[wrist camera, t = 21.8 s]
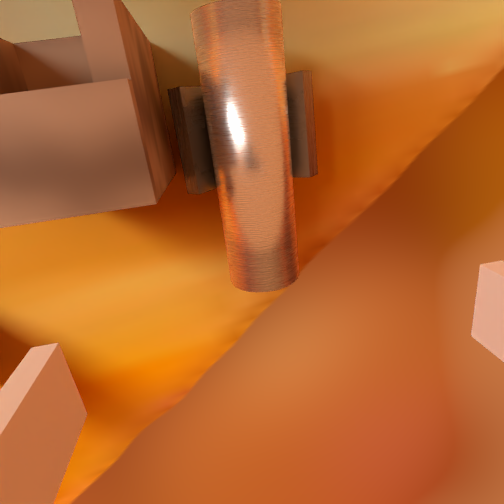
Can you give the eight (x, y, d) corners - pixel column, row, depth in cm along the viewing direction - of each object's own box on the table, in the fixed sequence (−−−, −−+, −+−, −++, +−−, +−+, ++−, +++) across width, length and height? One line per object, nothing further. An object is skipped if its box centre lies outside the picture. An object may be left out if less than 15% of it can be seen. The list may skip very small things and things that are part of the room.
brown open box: (15, 58, 26) (-147, 1, 14) (149, 41, 27) (103, -26, 15) (58, 189, 30) (-42, 234, 18) (176, 172, 31) (156, 204, 18)
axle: (191, 25, 24) (188, 2, 18) (271, 16, 24) (290, -8, 19) (228, 266, 31) (233, 297, 26) (290, 256, 31) (307, 285, 26)
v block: (174, 96, 28) (166, 88, 22) (292, 80, 29) (314, 69, 23) (191, 181, 31) (187, 196, 25) (299, 165, 32) (321, 175, 26)
